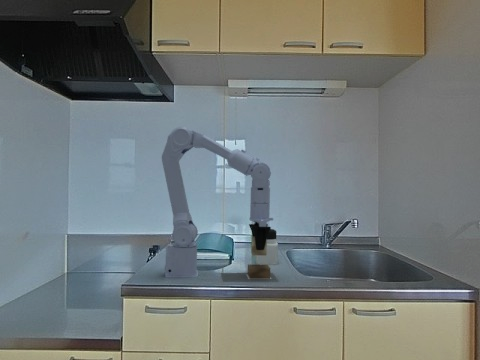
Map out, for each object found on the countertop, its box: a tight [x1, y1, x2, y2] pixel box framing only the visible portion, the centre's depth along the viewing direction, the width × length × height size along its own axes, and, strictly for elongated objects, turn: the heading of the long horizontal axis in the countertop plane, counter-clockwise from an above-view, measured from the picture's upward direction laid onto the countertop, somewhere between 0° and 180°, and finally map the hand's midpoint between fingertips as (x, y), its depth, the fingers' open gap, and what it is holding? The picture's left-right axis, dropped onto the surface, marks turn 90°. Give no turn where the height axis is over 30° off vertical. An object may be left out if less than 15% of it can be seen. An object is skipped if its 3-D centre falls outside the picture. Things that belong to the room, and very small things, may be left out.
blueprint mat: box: [220, 272, 280, 283], centre depth 139 cm, size 16×12×1 cm
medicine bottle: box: [255, 228, 279, 266], centre depth 164 cm, size 7×7×12 cm
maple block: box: [250, 236, 267, 256], centre depth 141 cm, size 4×4×5 cm
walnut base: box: [247, 263, 271, 279], centre depth 141 cm, size 6×6×3 cm
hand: (259, 248), depth 141 cm, fingers closed on maple block, 4 cm apart
